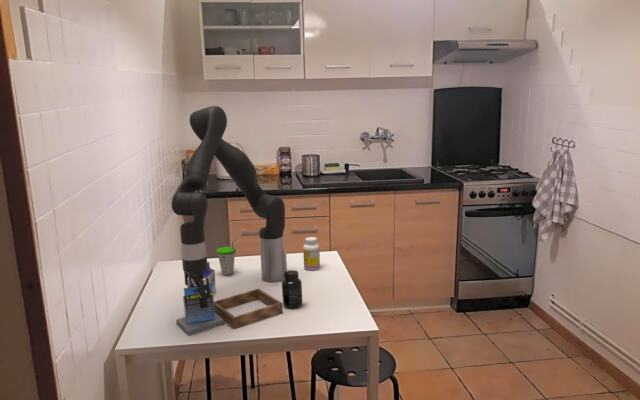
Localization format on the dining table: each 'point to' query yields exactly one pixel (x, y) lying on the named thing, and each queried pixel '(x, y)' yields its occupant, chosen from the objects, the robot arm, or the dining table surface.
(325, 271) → the dining table surface
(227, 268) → the cup
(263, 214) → the robot arm
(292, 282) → the supplement bottle
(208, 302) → the blue product box
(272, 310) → the bin
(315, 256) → the supplement bottle
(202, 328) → the grey rectangular slab
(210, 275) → the ink box
